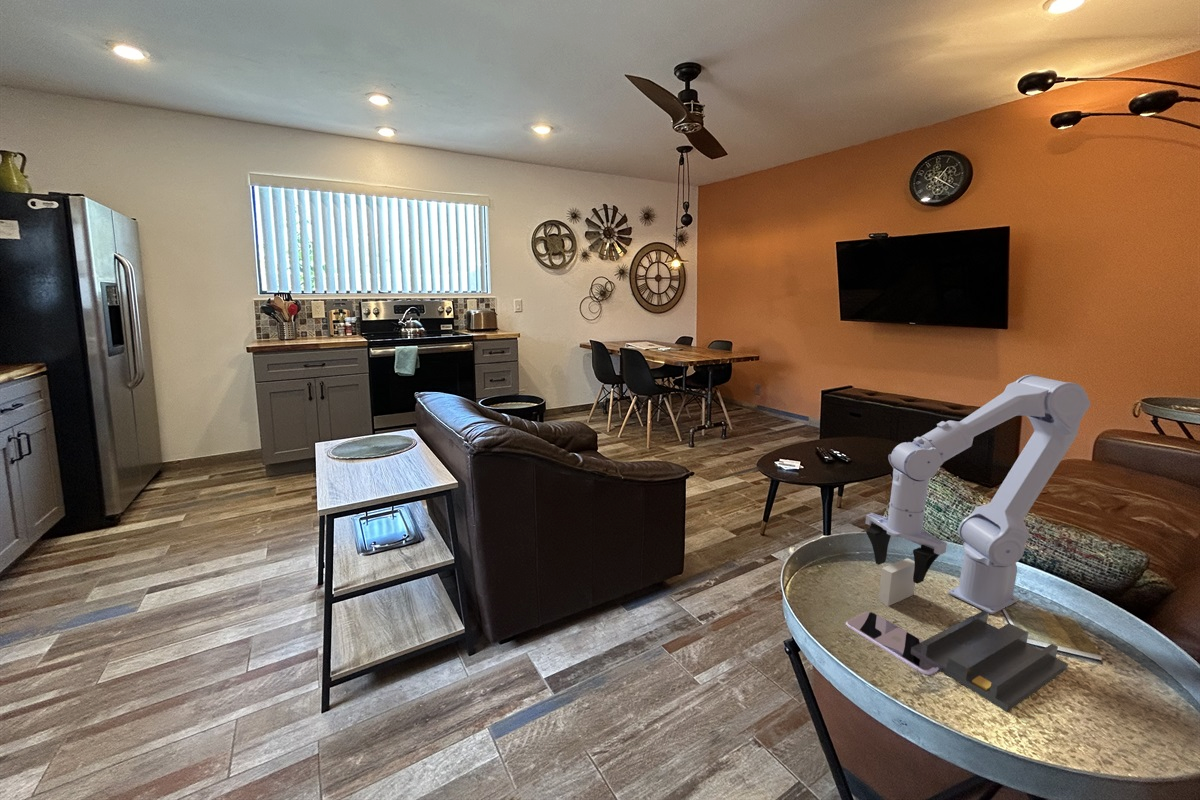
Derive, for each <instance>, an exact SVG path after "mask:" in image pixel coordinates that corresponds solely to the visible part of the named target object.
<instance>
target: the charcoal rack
mask: <svg viewBox="0 0 1200 800" xmlns="http://www.w3.org/2000/svg"><path fill="white" fill-rule="evenodd" d="M988 616H989V613H988V612H986V611H984V610H981V611H980V612H978V613H976V614H973V615H971V616H969V617H967V618H964V620H961V621H959V622H957V623H955V624H953V625H951V626H949V627H948V628H945V629H944V630H942V631H940V632H938V633H936V634H935V635H933V636H931V637H928V638H926V639H925V640H923V642H921V643H919V644H917V645H915V646H913V647H911V651H913V652H914V653H916V654H918V655H919V656H921V657H923V658H924V659H926V660H928V661H929V662H931V663H933V664H934V665H936V666H937V667H938V669H939V670H938V671H940V672H941V673H943V674H945V675H946V676H948V677H950V678H952V679H953V680H955V681H956V682H958V683H959V684H960V685H962V686H964V687H965V688H968V689H969V690H971V691H972V692H974V693H975V694H977V695H979V696H981V697H982V698H984V699H986V700H987V701H988V702H990V703H992V704H994V705H996V706H997V707H999V708H1000V709H1002V710H1004V711H1005V712H1007V713H1008V712H1009V711H1010V710H1012V709H1014V708H1015V707H1016V706H1018V705H1019V704H1021V703H1022V702H1023V701H1024V700H1026V699H1027V698H1029V697H1030V696H1032V695H1033V694H1035V693H1036V692H1038V691H1039V690H1040V689H1041V688H1043V687H1044V686H1046V685H1047V684H1049V683H1050V682H1051V681H1053V680H1054V679H1055V678H1058V676H1060V675H1061V674H1063V673H1064V672H1065V671H1067V670H1068V667H1069V663H1068V662H1066V661H1064V660H1062V659H1060V658H1057V653H1058V649H1059V648H1058V647H1059V646H1058V645H1056V644H1054V643H1051V644H1049V645H1047V646H1046V647H1044V648H1043V649H1039V648H1037V647H1036V646H1033V645H1031V644H1030V643H1028V637H1029V632H1028V631H1026V630H1024V629H1022V628H1021V627H1018V626H1016V625H1014V624H1012V623H1010V622H1009V623H1007V624H1005V625H1003V626H1001V627H1000V628H997V627H996V626H994V625H992V624H989V623H988V618H989V617H988Z"/></svg>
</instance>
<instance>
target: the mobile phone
mask: <svg viewBox="0 0 1200 800" xmlns="http://www.w3.org/2000/svg"><path fill="white" fill-rule="evenodd" d="M846 625H847V626H848V629H850V630H852V631H853V630H854V632H855V633H857V634H858V635H860V636H862V637H863V638H864V639H866V640H868V641H870V642H871V643H873V644H874V645H876V646H877V647H879V648H881V649H882V650H883V651H886V652H887V653H888V654H890V655H891V656H893V657H895V658H897V660H899V661H901V662H903V663H904V664H906V665H908V666H909V667H911V668H912V669H915V670H916V671H917V672H918V673H921V674H923V675H927V676H929V675H933V674H934V673H936V672H937V671H940V670H939V669H938V667H937V666H936V665H934V664H933V663H931V662H929V661H928V660H926V659H924V658H923V657H921V656H919V655H918V654H916V653H914V652H913V651H911V647H913V646H915V645H917V644H919V643H921V642H923V641H924V640H922V639H921V638H919V637H917V636H916V635H913V634H912V633H910V632H908V631H907V630H905V629H903V628H902V627H900V626H898V625H897V624H894V623H893V622H891V621H889V620H888V619H885V618H883V617H882V616H881V615H879V614H878V613H877V614H876V613H875V612H873V611H866V612H863V613H862V614H860V615H857V616H855V617H852V618H850V619H848V620H847V621H846V622H845V626H846ZM847 626H846V627H847Z"/></svg>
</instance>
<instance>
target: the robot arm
mask: <svg viewBox="0 0 1200 800" xmlns="http://www.w3.org/2000/svg"><path fill="white" fill-rule="evenodd" d="M1091 404H1092V403H1091V401H1090V399H1089V396H1088V394H1087V392H1086V390H1085V388H1084V387H1083V386H1082V385H1080V384H1078V383H1076V382H1072V381H1071V382H1068V381H1067V382H1066V381H1063V380H1062V381H1061V380H1056V379H1051V378H1048V377H1043V376H1039V375H1036V374H1027V375H1023V376H1021V377H1019V378H1018V379H1017V380H1015V381H1013V382H1011V383H1008V384H1007V385H1006V387H1005V389H1004V390H1003V392H1002V393H1000V394H999V395H997V396H996V397H994V398H993V399H991V400H990V401H988V402H986V403H985V404H984V405H982V406H981V407H980V408H978V409H976V410H975V411H973V412H972V413H971V414H969V415H968V416H966V417H964V418H963V419H962V420H960V421H956V420H952V419H951V420H947V421H944V420H942V421H940V422H938V423H936V427H935V428H933V429H932V430H930V431H928V432H926V433H925V434H923V435H921V436H916V437H915V438H913V441H912V442H911V441H907V442H906V441H905V442H901V443H899V444H898V445H896V446H895V447H894V448H893V450H892V451H891V453H889V454H888V457H887V458H888V462H889V464H890V466H891V467H892V470H893V471H892V482H891V484H892V485H891V491H890V499H889V507H888V517H887V516H883V515H880V514H876V513H874V512H871V513H868V514H865V525H868V526H869V527H868V528H866V529H865V533H866V535H867V537H868V539H869V541H870V543H871V546H872V550H873V554H874V560H875V564H876V565H877V566H878V565H882V564H885V563H886V560H887V556H888V548H889V543H890V539H891V537H893V538H898V537H899V538H902V539H905V540H907V541H910V542H912V543H914V544H917V545H919V546H920V547H917V548H915V549H913V550H912V553H913V559H914V560H913V561H914V562H915V568H914V575H913V582H915V584H917V585H918V584H919V583H922V582H924V580H925V578H926V575H927V574H928V571H929V570H930V568H931V566H932V565H933V563H934V562H935V561H936V560H937V558H938V557H940V555H942V554H945V553H946V552H947V546H948V543H947V542H946V541H944V540H942V539H939V538H937V537H936V536H934V535H933V534H931V533H929V532H928V531H926V530H925V529H923V525H924V517H925V513H926V512H925V511H926V509H925V508H926V503H927V496H928V488H929V481H930V478H931V479H932V478H934V477H935V476H936V474H937V473H938V471H939V469H940V467H941V466H942V465H943V464H944V463H945V462H946V461H948V460H951V458H953V457H956V455H959V454H960V453H962V452H964V451H966V450H967V449H969V448H971V447H972V446H973V441H974V438H975V437H976V436H978V435H980V434H982V433H984V432H986V431H989V430H991V429H993V428H995V427H996V426H999V425H1000V424H1002V423H1005V422H1006V421H1008V420H1010V419H1013V418H1014V417H1017V416H1021V417H1022V416H1024V417H1027V419H1028V420H1029V422H1030V424H1031V426H1032V428H1033V433H1032V434H1031V436H1030V438H1029V439H1028V441H1027V443H1026V445H1025V446H1024V447H1023V449H1022V451H1021V452H1020V454H1019V455H1018V457H1017V459H1016V460H1015V462H1014V463H1013V465H1012V467H1011V469H1010V470H1009V471H1008V473H1007V475H1006V477H1005V478H1004V480H1002V483H1001V484H1000V485H999V488H998V489H997V491H996V493H995V494H994V495H993V497H992V499H991V501H990V502H989V503H986V504H983V505H982V504H981V505H979V506H976V507H975V508H974V510H972V512H971V513H970V514H969V515H968V516H966V517H965V518H963V520H962V521H961V522H960V523H959V526H958V529H957V533H958V537H959V539H961V540H962V542H963V544H962V545H963V546H962V547H963V548H964V549H963V550H964V552H963V556H962V557H963V558H962V565H961V572H960V577H959V585H958V586H956V587H954V588H952V589H949V590H947V593H948V594H949V595H951V596H953V597H955V598H957V599H959V600H962V601H963V602H965V603H968V604H970V605H972V606H974V607H975V608H977V609H979V610H981V611H985V612H987V613H988V614H990V615H994V614H996V613H998V612H1000V611H1002V610H1004V609H1006V608H1007V607H1009V606H1011V605H1013V604H1014V603H1017V602H1019V598H1018V597H1017V596H1014V592H1015V591H1014V590H1015V586H1016V585H1015V584H1016V580H1017V573H1018V566H1017V562H1019V561H1020V560H1021V559H1022V558H1023V556H1024V553H1025V547H1026V546H1025V545H1026V542H1027V541H1028V539H1029V537H1030V533H1029V531H1028V528H1027V525H1026V524H1025V520H1024V519H1025V517H1026V516H1027V514H1028V513H1029V511H1030V510H1031V508H1032V507H1033V504H1035V502H1036V501H1037V499H1038V497H1039V496H1040V494H1041V492H1042V491H1043V489H1044V488H1045V486H1046V485H1047V484H1048V481H1049V480H1050V478H1051V477H1052V475H1053V474H1054V472H1055V471H1056V469H1057V468H1058V466H1059V464H1060V463H1061V462H1062V460H1063V458H1064V457H1065V455H1066V454H1067V452H1068V451H1069V448H1070V447H1071V446H1072V445H1073V442H1074V441H1075V440H1076V438H1077V436H1078V434H1079V428H1080V424H1081V421H1082V419H1083V418H1084V415H1085V414H1086V412H1087V411H1088V409H1089V408H1090V406H1091ZM1005 607H1006V608H1005Z"/></svg>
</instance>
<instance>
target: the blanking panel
mask: <svg viewBox="0 0 1200 800" xmlns="http://www.w3.org/2000/svg"><path fill="white" fill-rule="evenodd" d="M914 568H915V562H914V560H913V559H910V558H908V557H907V558H904V559H901V560H899V561H897V562H894V563H891V564H889V565H887V566H883V567H881V573H880V583H879V590H878V597H877V598H878V599H877V601H878V602H880V603H881V604H883V605H885V606H887V607H890V606H891V605H893V604H895V603H899V602H901V601H902V600H905V599H907V598H909V597H911V596H914V594H915V585H916V583H915V582H913V575H914Z"/></svg>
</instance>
